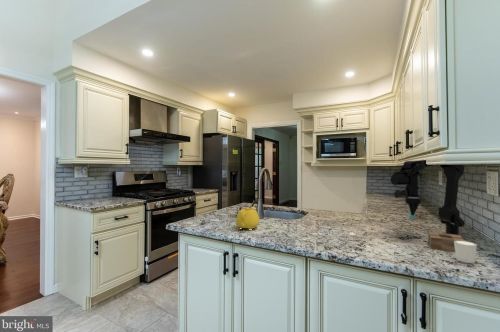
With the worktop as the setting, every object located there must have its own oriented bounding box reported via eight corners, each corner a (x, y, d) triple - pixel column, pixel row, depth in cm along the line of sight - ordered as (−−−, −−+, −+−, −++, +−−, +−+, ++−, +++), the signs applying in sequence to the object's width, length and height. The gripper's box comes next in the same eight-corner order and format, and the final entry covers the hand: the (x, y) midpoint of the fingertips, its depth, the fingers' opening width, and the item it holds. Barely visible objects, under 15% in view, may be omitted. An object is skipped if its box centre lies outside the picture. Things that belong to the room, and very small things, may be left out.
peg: (408, 218, 128) (408, 201, 128) (415, 219, 126) (415, 202, 126) (408, 219, 125) (408, 202, 125) (415, 220, 123) (415, 202, 124)
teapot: (231, 230, 143) (231, 209, 143) (244, 223, 161) (244, 204, 161) (253, 233, 138) (253, 210, 138) (264, 225, 156) (264, 205, 156)
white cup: (469, 264, 92) (468, 246, 92) (449, 258, 98) (449, 241, 98) (481, 262, 94) (481, 244, 94) (461, 256, 100) (461, 239, 100)
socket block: (428, 241, 120) (428, 231, 120) (459, 245, 114) (459, 235, 114) (431, 248, 110) (431, 237, 110) (465, 253, 103) (465, 241, 103)
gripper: (394, 183, 138) (394, 210, 138) (393, 185, 122) (393, 216, 122) (418, 183, 132) (418, 212, 132) (420, 186, 116) (420, 218, 116)
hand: (412, 214), depth 126 cm, fingers closed on peg, 3 cm apart
